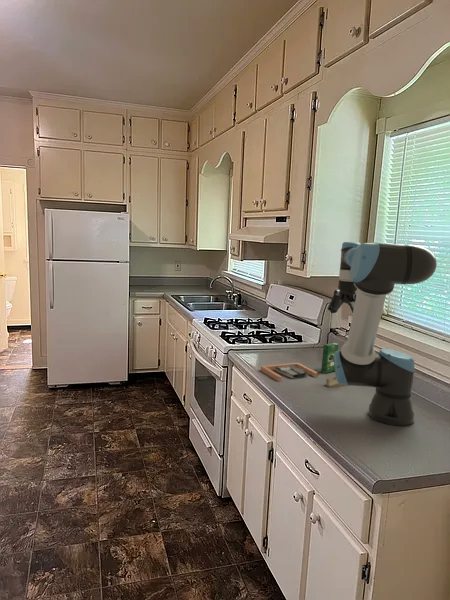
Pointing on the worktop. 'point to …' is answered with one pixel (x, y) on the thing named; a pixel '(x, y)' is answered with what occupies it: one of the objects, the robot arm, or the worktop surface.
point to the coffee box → (329, 357)
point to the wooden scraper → (332, 381)
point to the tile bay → (277, 377)
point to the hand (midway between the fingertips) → (343, 331)
